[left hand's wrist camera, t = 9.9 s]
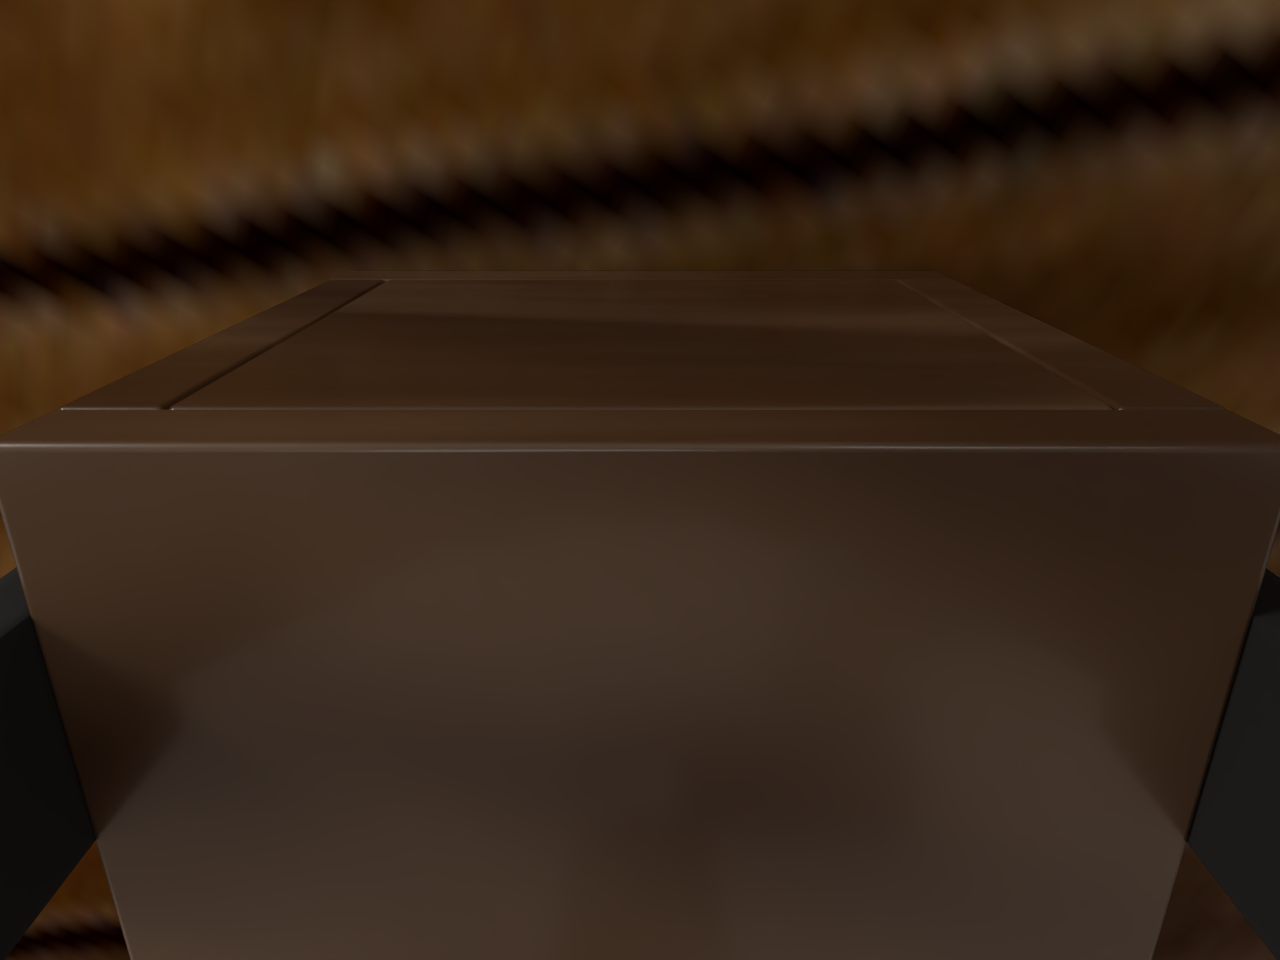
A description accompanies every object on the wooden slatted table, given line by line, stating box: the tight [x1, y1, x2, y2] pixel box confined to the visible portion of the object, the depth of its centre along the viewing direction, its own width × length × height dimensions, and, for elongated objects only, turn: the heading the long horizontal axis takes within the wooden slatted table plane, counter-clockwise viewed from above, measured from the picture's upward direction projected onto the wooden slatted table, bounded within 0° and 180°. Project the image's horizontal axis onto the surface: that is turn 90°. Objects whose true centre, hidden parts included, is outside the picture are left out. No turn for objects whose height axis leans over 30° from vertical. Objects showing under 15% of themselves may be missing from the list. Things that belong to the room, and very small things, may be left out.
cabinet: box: [0, 271, 1280, 960], centre depth 16 cm, size 21×11×10 cm, turn 0°
